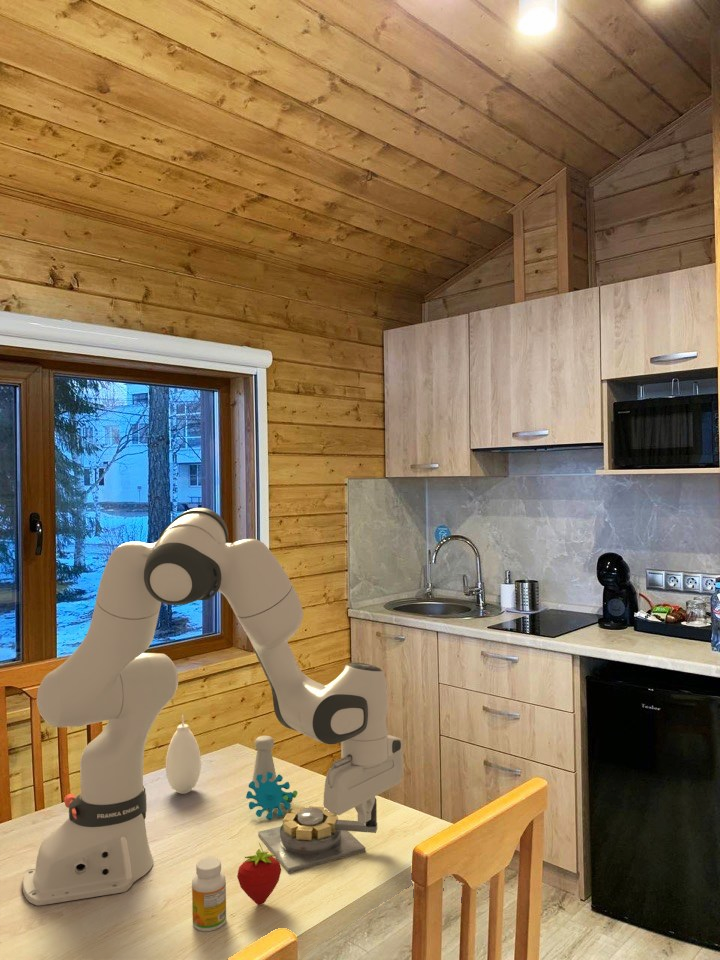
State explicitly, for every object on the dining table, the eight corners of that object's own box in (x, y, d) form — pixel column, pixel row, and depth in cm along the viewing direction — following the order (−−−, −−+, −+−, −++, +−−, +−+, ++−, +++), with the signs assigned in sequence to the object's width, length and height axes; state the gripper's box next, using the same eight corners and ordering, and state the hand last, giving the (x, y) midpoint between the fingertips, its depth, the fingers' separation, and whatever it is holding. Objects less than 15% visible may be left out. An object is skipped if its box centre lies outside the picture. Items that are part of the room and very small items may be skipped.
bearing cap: (288, 872, 138) (287, 840, 138) (258, 835, 152) (258, 806, 152) (365, 851, 145) (365, 820, 145) (330, 818, 160) (329, 789, 159)
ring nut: (372, 845, 141) (371, 811, 141) (277, 837, 145) (277, 805, 144) (380, 820, 151) (380, 788, 151) (292, 813, 155) (291, 783, 155)
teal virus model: (246, 816, 157) (247, 769, 164) (242, 827, 161) (243, 781, 168) (298, 817, 160) (297, 771, 167) (293, 828, 164) (292, 783, 171)
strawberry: (233, 900, 129) (232, 842, 129) (275, 889, 132) (274, 833, 132) (243, 919, 124) (242, 858, 124) (286, 907, 127) (285, 848, 127)
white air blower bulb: (196, 799, 169) (195, 719, 169) (161, 799, 170) (160, 719, 169) (204, 785, 177) (203, 708, 177) (172, 785, 177) (170, 708, 177)
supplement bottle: (190, 916, 125) (189, 858, 125) (222, 909, 127) (222, 852, 126) (195, 935, 120) (194, 874, 119) (229, 927, 122) (228, 867, 121)
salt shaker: (250, 790, 174) (249, 734, 174) (274, 787, 176) (274, 731, 175) (254, 801, 168) (253, 743, 168) (279, 797, 170) (279, 740, 170)
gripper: (341, 768, 134) (341, 846, 134) (408, 738, 150) (408, 807, 150) (315, 760, 138) (315, 836, 138) (383, 731, 154) (383, 799, 154)
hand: (364, 821), depth 144 cm, fingers closed
